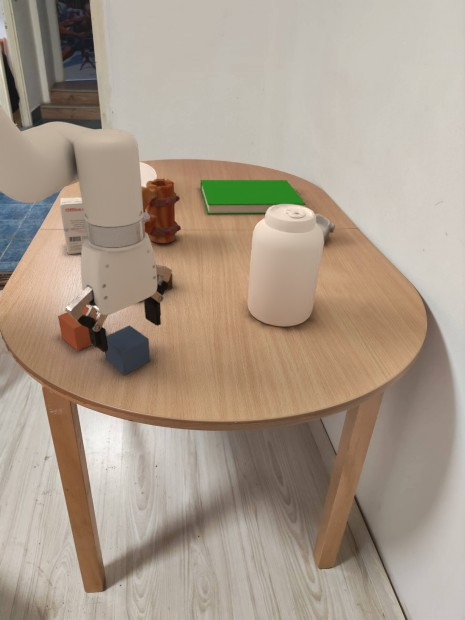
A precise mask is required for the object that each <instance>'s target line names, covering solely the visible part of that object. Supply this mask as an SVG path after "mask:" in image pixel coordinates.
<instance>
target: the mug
mask: <svg viewBox="0 0 465 620" xmlns="http://www.w3.org/2000/svg"><path fill="white" fill-rule="evenodd" d="M174 184H175V183H174V182H173V181H172V180H170V179H168V178H167V179H166V180H165V178H157V179H154V181H148V182H147V184H146V187H142V186H141V188H142V201H143V213H144V212H147V213H148V214H149V216H150V220H149V221H148V222H146V223H145V232H146V233H147V234H148V236H149V239H150V242H153V243H156V244H169V243H172V242H173V241H174V240H175V238H176V234H177V233H178V232H179V231H181V229H182V227H181V226H180V225H179V224H178V222H177V221H176V214H175V213H176V212H175V211H176V209H175V204H176V203H177V202H179V201H180V199H181V198H180V196H178V195H177V193H176V191H175V185H174Z"/></svg>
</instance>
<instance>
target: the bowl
mask: <svg viewBox="0 0 465 620" xmlns="http://www.w3.org/2000/svg"><path fill="white" fill-rule="evenodd" d="M139 162H140V175H141V186H142V187H146V184H147V182H148V181H154V179H158V174H157V172H156V170H155V169H154V168H153V167H152V165H149V164H147V163H146V162H142V161H139Z"/></svg>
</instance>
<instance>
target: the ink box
mask: <svg viewBox="0 0 465 620" xmlns="http://www.w3.org/2000/svg"><path fill="white" fill-rule="evenodd" d="M59 208H60V215H61V222H62V228H63V233H64V240H65V245H66V246H65V247H66V252H67V255H75V254H81V253H82V244H83V242H85V241H87V240H88V237H87V231H86V224H85V218H84V211H83V205H82V198H81V196H79V197H60V198H59Z"/></svg>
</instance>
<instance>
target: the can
mask: <svg viewBox="0 0 465 620" xmlns="http://www.w3.org/2000/svg"><path fill="white" fill-rule="evenodd" d="M315 214H316V213H315V212H314V211H313V209H311V208H309V207H306V206H304V207H303V206H300V205H294V204H279V205H274V206H272V207H269V209H268V210H267V212H266V213H265V214H264V217H263V218H262V219H261V220H259V221H258V222H257V223H256V224H255V227H254V229H253V231H252V237H251V238H252V239H251V250H250V263H249V276H248V288H247V301H246V302H247V303H246V305H247V306H246V307H247V309H248V311H249V313H250V315H251V316H252V317H253V318H255V319H256V320H257V321H259V322H261V323H264V324H266V325H271V326H275V327H294V326H298V325H300V324H303V323H305V321H307V320H308V319H309V318H310V317H311V316H312V313H313V310H314V303H315V298H316V291H317V285H318V281H319V280H318V279H319V275H320V270H321V269H320V268H321V264H322V263H321V262H322V258H323V251H324V250H323V249H324V247H325V246H324V245H325V242H324V237H323V232H322V229H321V228H320V227H319V226H318V225H317V223H316V216H315Z"/></svg>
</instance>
